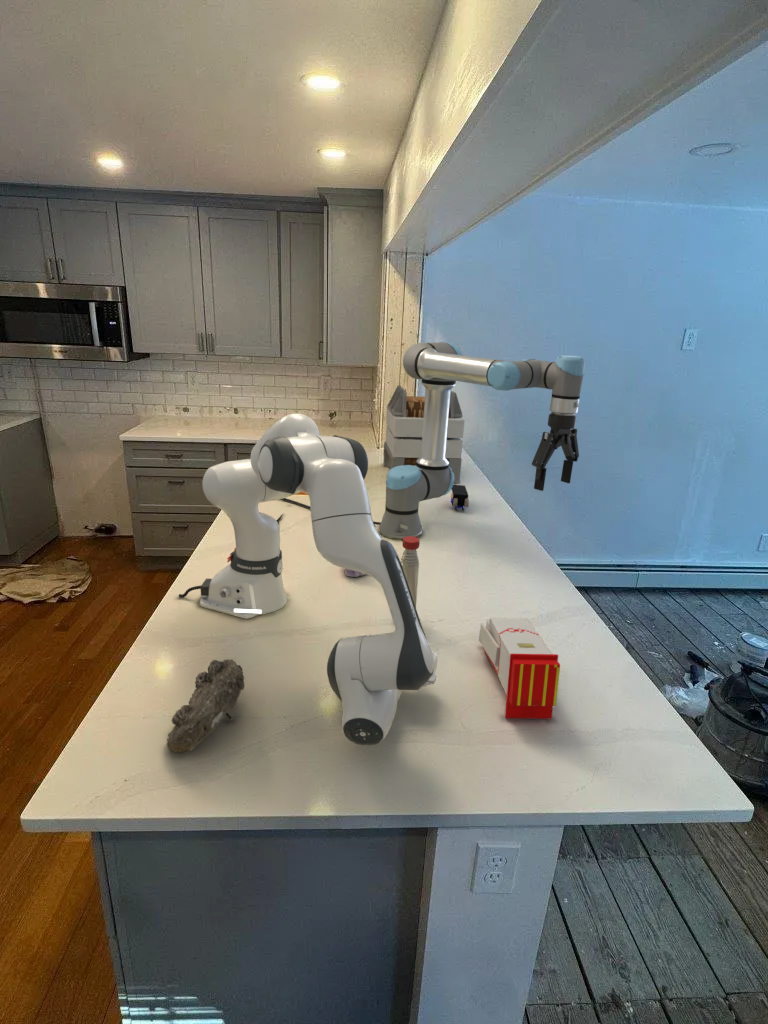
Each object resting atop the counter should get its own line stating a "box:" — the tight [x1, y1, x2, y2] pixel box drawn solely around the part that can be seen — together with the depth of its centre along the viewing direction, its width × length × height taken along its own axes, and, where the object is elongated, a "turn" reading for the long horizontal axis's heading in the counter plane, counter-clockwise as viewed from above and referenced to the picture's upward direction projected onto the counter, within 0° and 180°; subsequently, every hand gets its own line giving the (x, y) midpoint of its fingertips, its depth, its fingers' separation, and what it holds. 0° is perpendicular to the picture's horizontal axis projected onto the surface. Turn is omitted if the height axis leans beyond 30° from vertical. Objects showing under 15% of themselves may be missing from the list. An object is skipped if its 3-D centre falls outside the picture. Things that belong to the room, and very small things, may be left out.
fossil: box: [166, 658, 245, 754], centre depth 106 cm, size 22×10×15 cm
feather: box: [276, 513, 284, 523], centre depth 210 cm, size 2×28×2 cm
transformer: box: [383, 384, 465, 484], centre depth 268 cm, size 34×33×41 cm
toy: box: [478, 616, 561, 720], centre depth 122 cm, size 12×13×30 cm
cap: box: [402, 536, 420, 550], centre depth 137 cm, size 4×4×2 cm
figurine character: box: [449, 484, 470, 512], centre depth 229 cm, size 7×8×15 cm
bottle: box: [400, 548, 420, 608], centre depth 140 cm, size 5×5×22 cm
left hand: (393, 640), depth 123 cm, fingers open, 8 cm apart
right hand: (552, 485), depth 166 cm, fingers open, 13 cm apart
